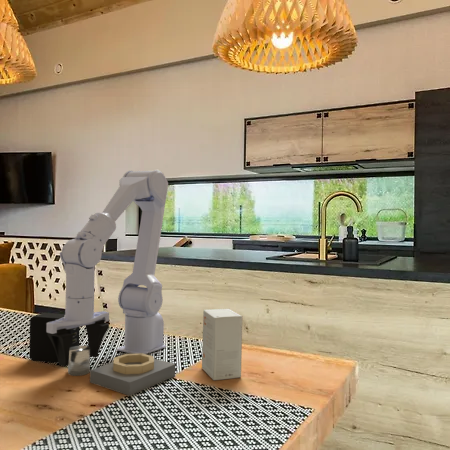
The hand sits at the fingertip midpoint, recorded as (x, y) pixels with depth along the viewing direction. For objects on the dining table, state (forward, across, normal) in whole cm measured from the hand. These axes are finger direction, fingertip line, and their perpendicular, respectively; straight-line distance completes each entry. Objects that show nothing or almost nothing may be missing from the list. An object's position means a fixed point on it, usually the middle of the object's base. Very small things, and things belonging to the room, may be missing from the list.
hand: (78, 360), depth 97 cm
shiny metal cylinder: (+2, 0, 0) cm, 3 cm away
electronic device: (+3, -2, -11) cm, 11 cm away
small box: (+3, -18, +24) cm, 30 cm away
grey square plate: (+2, -4, +12) cm, 13 cm away
